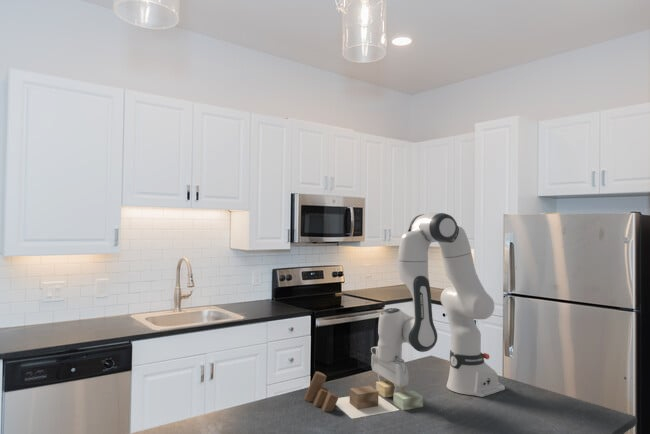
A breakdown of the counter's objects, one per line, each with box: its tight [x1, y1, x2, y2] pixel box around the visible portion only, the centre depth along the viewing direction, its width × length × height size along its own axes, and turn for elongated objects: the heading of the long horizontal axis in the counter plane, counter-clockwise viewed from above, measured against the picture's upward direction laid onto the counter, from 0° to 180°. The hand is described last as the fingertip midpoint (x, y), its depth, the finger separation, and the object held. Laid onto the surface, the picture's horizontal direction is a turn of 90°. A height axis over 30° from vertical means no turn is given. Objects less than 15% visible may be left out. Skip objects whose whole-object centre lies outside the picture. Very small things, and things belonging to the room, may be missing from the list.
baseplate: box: [335, 394, 400, 420], centre depth 154 cm, size 18×17×1 cm
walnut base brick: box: [349, 385, 380, 410], centre depth 154 cm, size 8×6×5 cm
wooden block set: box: [303, 371, 339, 413], centre depth 156 cm, size 18×9×10 cm, turn 15°
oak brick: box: [375, 379, 404, 399], centre depth 165 cm, size 8×6×5 cm
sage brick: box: [392, 389, 424, 411], centre depth 154 cm, size 8×6×5 cm
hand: (388, 390), depth 164 cm, fingers open, 8 cm apart
